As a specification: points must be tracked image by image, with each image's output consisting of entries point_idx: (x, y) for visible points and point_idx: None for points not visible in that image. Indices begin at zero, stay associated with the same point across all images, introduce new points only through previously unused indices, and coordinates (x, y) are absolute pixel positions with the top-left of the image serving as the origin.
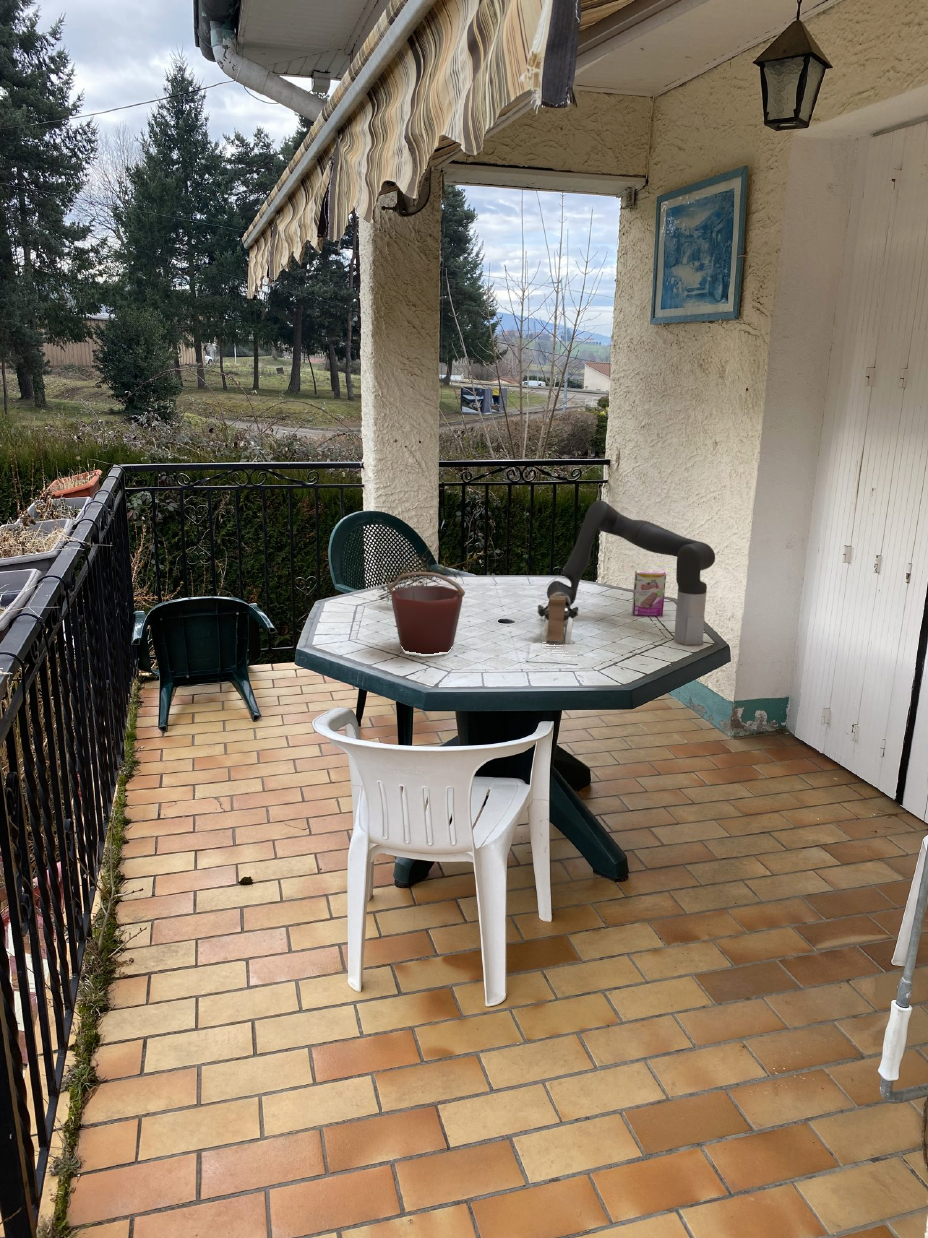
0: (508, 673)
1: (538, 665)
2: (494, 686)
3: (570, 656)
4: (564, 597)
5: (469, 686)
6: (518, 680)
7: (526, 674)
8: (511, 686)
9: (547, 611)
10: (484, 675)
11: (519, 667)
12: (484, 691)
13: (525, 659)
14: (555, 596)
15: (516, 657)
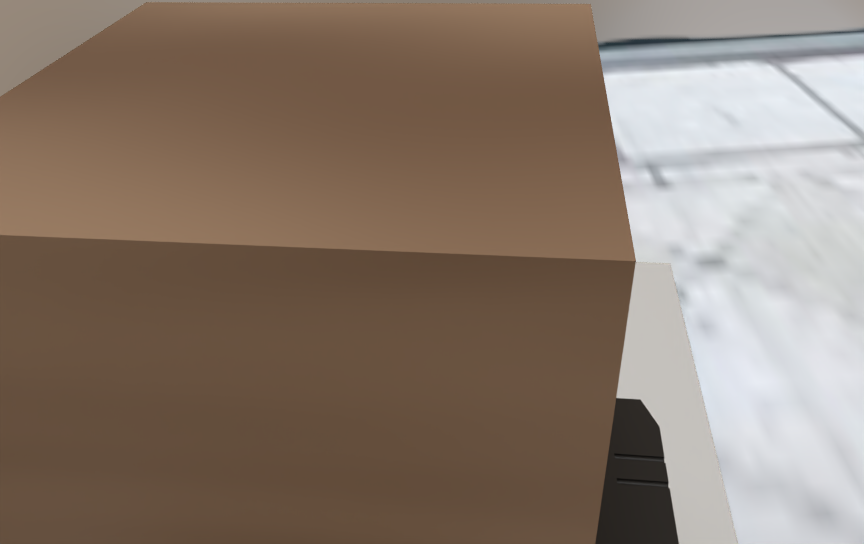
0: (719, 145)
1: None
2: (726, 64)
3: None
4: (17, 106)
5: (832, 58)
6: (640, 101)
7: (616, 143)
8: (654, 68)
9: (616, 509)
10: (834, 122)
11: (685, 202)
12: (746, 41)
13: (688, 309)
14: (357, 152)
15: (778, 338)
